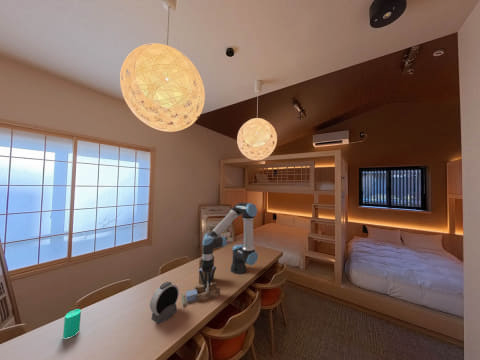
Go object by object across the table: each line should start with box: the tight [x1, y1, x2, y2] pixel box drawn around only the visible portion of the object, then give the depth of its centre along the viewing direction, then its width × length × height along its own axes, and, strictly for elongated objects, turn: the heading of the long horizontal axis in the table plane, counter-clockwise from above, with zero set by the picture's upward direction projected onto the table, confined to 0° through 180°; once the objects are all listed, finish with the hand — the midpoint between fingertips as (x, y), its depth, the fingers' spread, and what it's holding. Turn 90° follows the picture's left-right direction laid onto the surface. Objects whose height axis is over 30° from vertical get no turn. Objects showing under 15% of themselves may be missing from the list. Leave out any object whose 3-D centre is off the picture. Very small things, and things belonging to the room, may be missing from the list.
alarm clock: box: [149, 281, 180, 325], centre depth 98 cm, size 16×10×18 cm, turn 148°
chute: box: [180, 281, 221, 308], centre depth 115 cm, size 25×11×5 cm, turn 116°
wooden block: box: [198, 255, 215, 285], centre depth 134 cm, size 10×10×20 cm
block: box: [185, 289, 198, 303], centre depth 112 cm, size 7×6×4 cm
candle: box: [62, 308, 82, 338], centre depth 84 cm, size 6×6×12 cm
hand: (207, 291), depth 117 cm, fingers closed
